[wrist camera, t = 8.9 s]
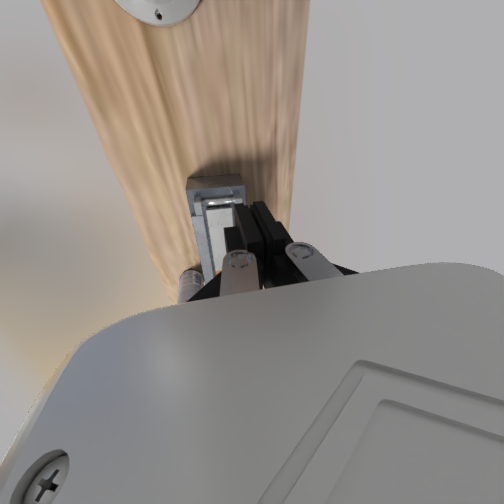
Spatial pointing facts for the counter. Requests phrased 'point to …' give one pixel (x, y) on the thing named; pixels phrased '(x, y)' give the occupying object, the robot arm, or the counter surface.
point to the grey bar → (218, 232)
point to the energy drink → (189, 285)
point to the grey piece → (207, 196)
